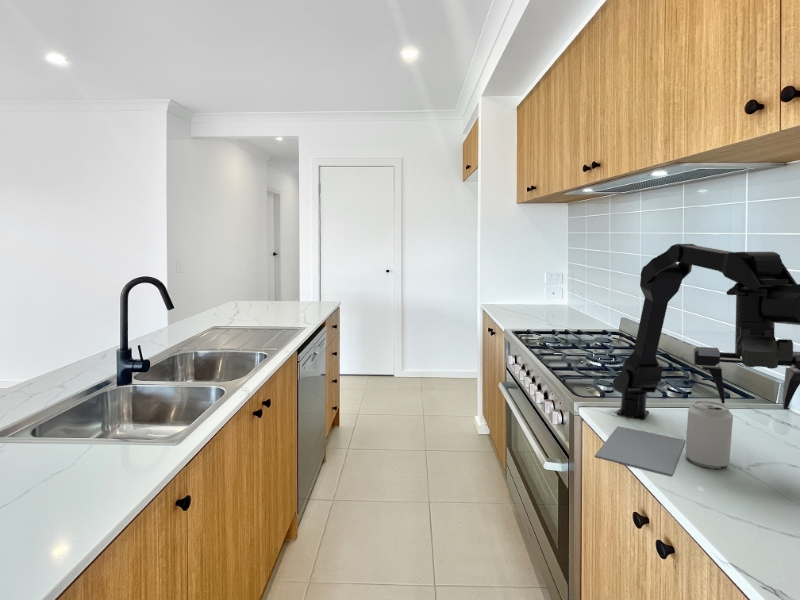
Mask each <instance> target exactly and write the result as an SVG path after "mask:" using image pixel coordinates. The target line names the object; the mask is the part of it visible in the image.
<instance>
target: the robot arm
mask: <svg viewBox="0 0 800 600" xmlns="http://www.w3.org/2000/svg"><path fill="white" fill-rule="evenodd" d="M693 266H695V267H699V268H704V269H709V270H713V271H717V272H719V273H722V274H723V276H724V277H725V278H727V279H729V280H730V281H733V282H735V284H734V285H733V286H732V287H731V288H729V289H728V290H727V291H726V295H728V296H735V334H734V337H735V338H734V339H735V341H734V342H735V343H734V345H735V347H734V348H735V349H734V352H726V351H725V352H721V351H720V349H719V348H718V347H707V346H704V347H703V346H696V347H695V348H694V349H693V362H694V365H695V366H701V368H702V370H704V371H709V374H710V375H711V377H712V379H713V381H714V385H715V386H716V390H717V393H718V396H719V399H720V403H722V404H726V403H725V398H726V397H725V387H724V380H723V371H722V370H723V369H722V367H721V365H720V364H721V363H732V364H733V363H734V364H742V365H743V366H745V367H748V368H755V367H758V368H767V369H777V368H778V366H780V367H785V374H784V383H783V384H784V385H783V390H782V409H783V410H788V407H789V405H790V404H791V402H792V399H793V397H794V395H795V393H796V392H797V389H798V388H799V386H800V351H794V342H793V340H792V339H787V338H785V339H784V338H783V339H781V338H779V339H776V337H775V330H776V329H775V323H776V324H783V325H784V324H785V325H792V326H793V325H794V326H800V283H797V282H796V280H795V279H794V277H793V276H792V275H791V273H790V272H789V270H788V269H787V267H786V266H785V264H784V263H783V260H782V258H781V255H780V254H779V253H777V252H775V251H728V250H722V249H717V248H711V247H707V246H700V245H696V244H694V243H675V244H672V245H671V246H669V248H668V249H667V250H666V251H665V252H663V253H660V254H659V255H657V256H655V257H654V258H652V259H650V261H649V262H647V264H645V265H644V266H643V267H642V269H641V272H640V280H639V281H640V282H639V287H640V289H641V292H642V293H643V297H644V300H643V304H642V310H641V315H640V320H639V325H638V329H637V334H636V339H635V345H634V348H633V352H632V353H631V354H630V356H628V357H627V358H626V359H625V360H624V361H623V362H624V363H623V365H622V369H621V370H620V373H619V374H618V375H616V377H615V378H613V380H612V385H613V389H614V390H615V391H618V392H619V393H621V397H620V398H621V399H620V408H619V410H617V411H616V415H617V416H621V417H622V416H623V417H627V418H632V419H638V420H643V421H644V420H646V418H647V417H648V415H649V413H650V411H649V410H647V408H646V407H647V394H648V393H653V394H654V393H656V391H657V388H658V385H659V383H660V382H662V374H663V372H664V371H663V370H664V368H663V366H661V365H660V363H659V361H658V359H657V353H658V350H659V349H658V348H659V345H660V339H661V336H662V331H663V327H664V322H665V318H666V313H667V309H668V304H669V302H670V301H671V299H673V297H674V296H675V295H676V294H678V292H679V291H680V287H681V285H682V283H683V280H684V279H685V278H686V277H687V276H688V275H689V274H690V273H691V272H692V267H693Z"/></svg>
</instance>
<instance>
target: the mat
mask: <svg viewBox="0 0 800 600" xmlns="http://www.w3.org/2000/svg"><path fill="white" fill-rule="evenodd" d="M685 445H686V439H682V438H677V437H673V436H668V435H663V434H658V433H654V432H648V431H643V430H639V429H633V428H628V427H624V426H619V425H617V427H616V428H615V429H614V430H613V432H612V433H611V434H610V436H608V438H607V439H606V440H605V441H604V443H603V444H602V445H601V447H600V448H599V450H598V451H596V453H595V455H594V458H596V459H600V460H603V461H604V460H605V461H609V462H612V463H617V464H620V465H626V466H628V467H632V468H637V469H641V470H645V471H648V472H652V473H657V474H661V475H664V476H669V477H673V475H674V473H675V469H676V467H677V464H678V462H679V459H680V456H681V454H682V451H683V449H684V446H685Z"/></svg>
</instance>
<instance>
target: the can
mask: <svg viewBox="0 0 800 600" xmlns="http://www.w3.org/2000/svg"><path fill="white" fill-rule="evenodd" d="M691 404H692V405H691V406H690V407H688V410H687V423H686V424H687V425H686V428H687V429H686V438H685V453H684V454H685V456H686V457H687V458H688V459H689V461H690V462H691V463H693V464H695V465H696V466H699V467H702V468H703V467H704V468H707V467H708V469H714V468H718V469H722V468H721V467H723V468H724V467H726V466H728V465H729V464H730V460H731V459H730V458H731V447H732V433H733V423H734V420H733V418H734V416H733V415H734V414H732V413H731V411H730V410H731V409H730V407H729V405H727V404H726V403H724V404H723V403H722V402H719V401H715V400H707V399H699V400H697V399H696V400H694V401H692V403H691Z"/></svg>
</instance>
